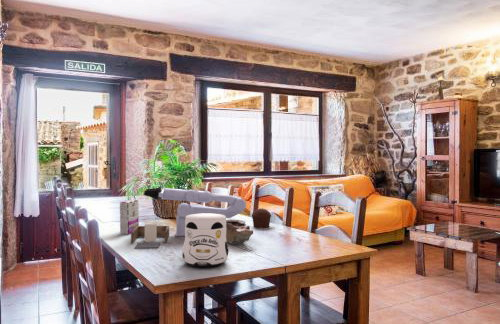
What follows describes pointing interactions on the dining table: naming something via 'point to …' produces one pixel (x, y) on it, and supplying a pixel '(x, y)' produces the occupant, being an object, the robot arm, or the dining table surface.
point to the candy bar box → (128, 216)
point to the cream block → (150, 232)
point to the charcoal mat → (147, 245)
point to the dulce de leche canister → (205, 240)
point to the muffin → (261, 218)
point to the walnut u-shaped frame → (140, 232)
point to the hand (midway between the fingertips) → (145, 192)
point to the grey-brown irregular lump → (237, 231)
